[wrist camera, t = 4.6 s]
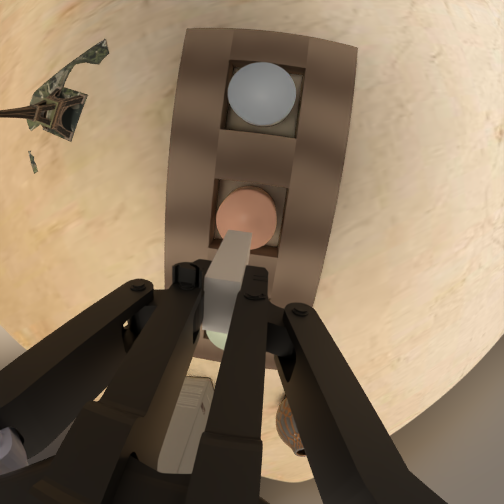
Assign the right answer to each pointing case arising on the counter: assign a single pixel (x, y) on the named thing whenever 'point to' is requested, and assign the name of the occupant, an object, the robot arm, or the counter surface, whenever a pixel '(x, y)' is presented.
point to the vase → (289, 429)
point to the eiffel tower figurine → (58, 101)
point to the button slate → (262, 94)
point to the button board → (258, 156)
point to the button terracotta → (248, 214)
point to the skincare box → (186, 426)
